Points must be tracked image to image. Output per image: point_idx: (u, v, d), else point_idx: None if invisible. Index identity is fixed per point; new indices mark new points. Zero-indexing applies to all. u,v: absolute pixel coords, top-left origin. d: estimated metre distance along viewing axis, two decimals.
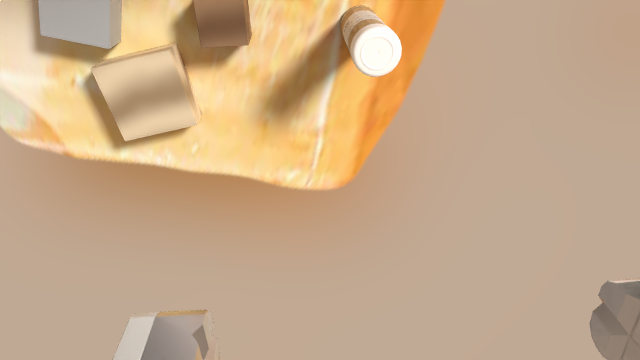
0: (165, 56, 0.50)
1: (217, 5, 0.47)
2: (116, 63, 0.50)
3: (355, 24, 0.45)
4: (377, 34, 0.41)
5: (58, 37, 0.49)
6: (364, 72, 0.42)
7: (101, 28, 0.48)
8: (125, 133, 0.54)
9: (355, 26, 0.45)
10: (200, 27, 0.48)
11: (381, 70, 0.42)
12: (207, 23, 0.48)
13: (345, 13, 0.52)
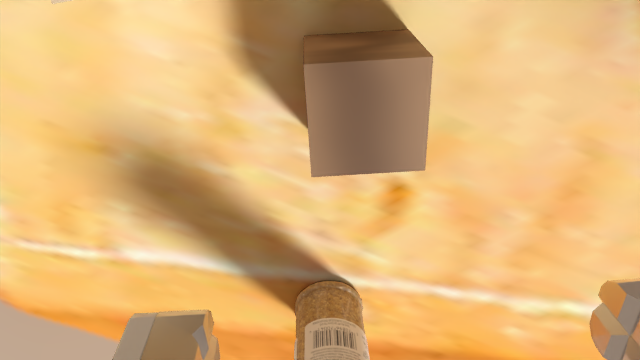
0: None
1: (408, 115, 0.19)
2: None
3: None
4: None
5: None
6: None
7: None
8: None
9: None
10: (357, 68, 0.18)
11: None
12: (368, 87, 0.18)
13: (351, 290, 0.29)
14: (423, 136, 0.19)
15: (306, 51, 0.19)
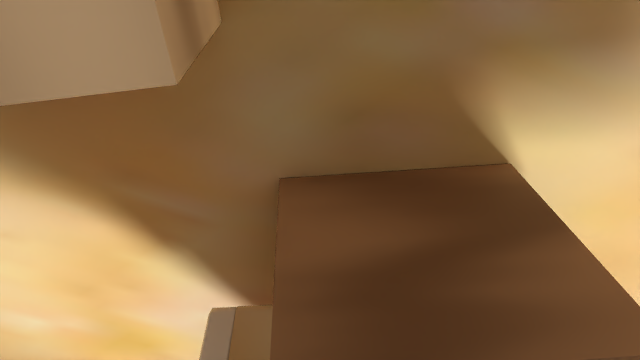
0: (110, 36, 0.05)
1: None
2: None
3: None
4: None
5: None
6: None
7: None
8: None
9: None
10: None
11: None
12: None
13: None
14: None
15: (282, 272, 0.07)
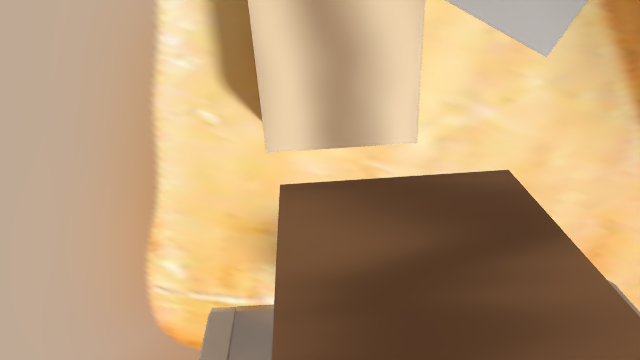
0: (408, 134, 0.27)
1: None
2: (421, 39, 0.24)
3: None
4: None
5: None
6: None
7: None
8: None
9: None
10: None
11: None
12: None
13: None
14: None
15: (282, 278, 0.07)
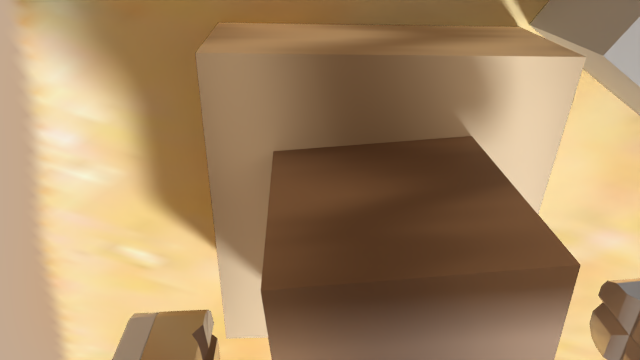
0: None
1: None
2: (547, 167, 0.12)
3: None
4: None
5: None
6: None
7: None
8: (239, 74, 0.10)
9: None
10: (394, 292, 0.07)
11: None
12: (417, 325, 0.08)
13: None
14: None
15: (273, 219, 0.09)
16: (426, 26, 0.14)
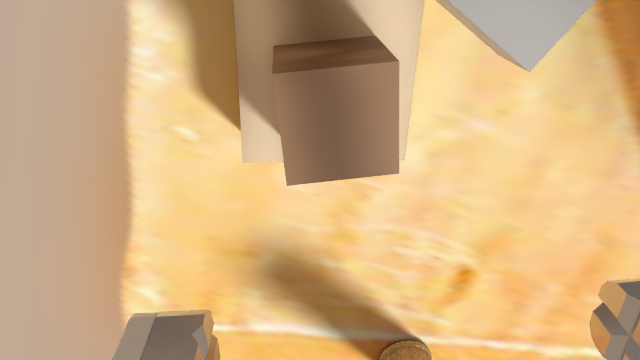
0: None
1: (379, 119, 0.19)
2: (416, 50, 0.23)
3: None
4: None
5: None
6: None
7: None
8: None
9: None
10: (326, 75, 0.18)
11: None
12: (337, 93, 0.18)
13: (424, 347, 0.37)
14: (395, 140, 0.20)
15: (275, 61, 0.19)
16: None
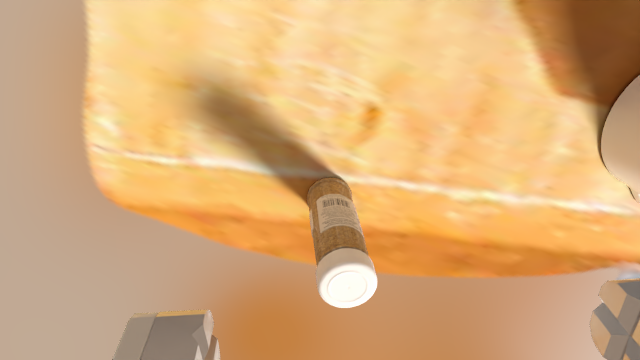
0: None
1: None
2: None
3: (358, 230, 0.38)
4: (370, 284, 0.34)
5: None
6: (324, 276, 0.33)
7: None
8: None
9: (358, 233, 0.37)
10: None
11: (326, 293, 0.34)
12: None
13: (344, 183, 0.44)
14: None
15: None
16: None
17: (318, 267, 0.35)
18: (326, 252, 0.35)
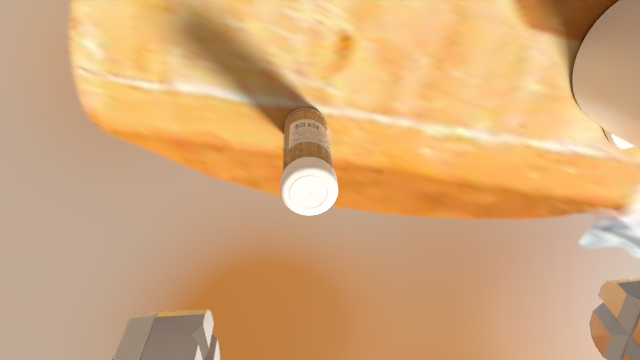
0: None
1: None
2: None
3: (325, 147, 0.39)
4: (330, 191, 0.36)
5: None
6: (286, 180, 0.35)
7: None
8: None
9: (325, 149, 0.39)
10: None
11: (289, 198, 0.36)
12: None
13: (319, 113, 0.46)
14: None
15: None
16: None
17: (282, 175, 0.36)
18: (290, 162, 0.37)
